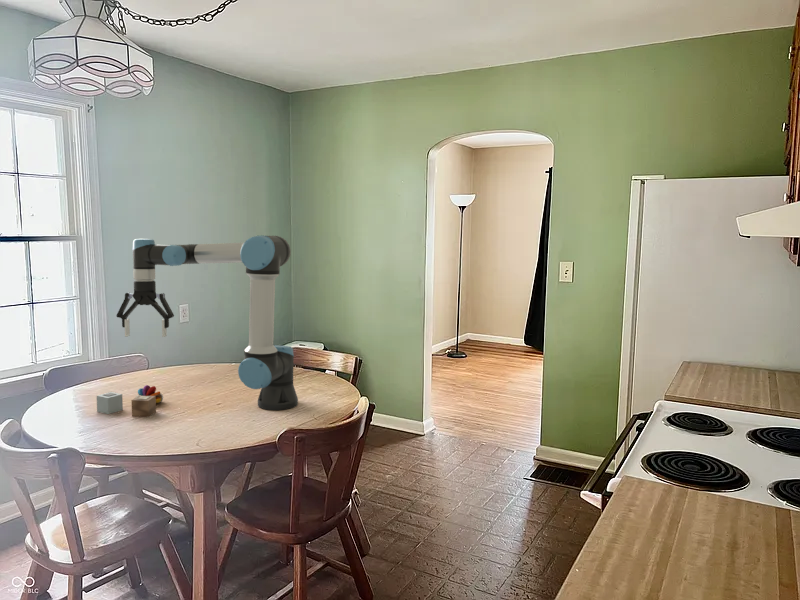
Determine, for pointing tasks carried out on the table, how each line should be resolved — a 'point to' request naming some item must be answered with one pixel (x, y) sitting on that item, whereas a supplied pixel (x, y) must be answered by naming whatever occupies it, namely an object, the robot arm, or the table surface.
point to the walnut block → (143, 406)
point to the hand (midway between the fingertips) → (145, 336)
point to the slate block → (109, 403)
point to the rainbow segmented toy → (150, 393)
